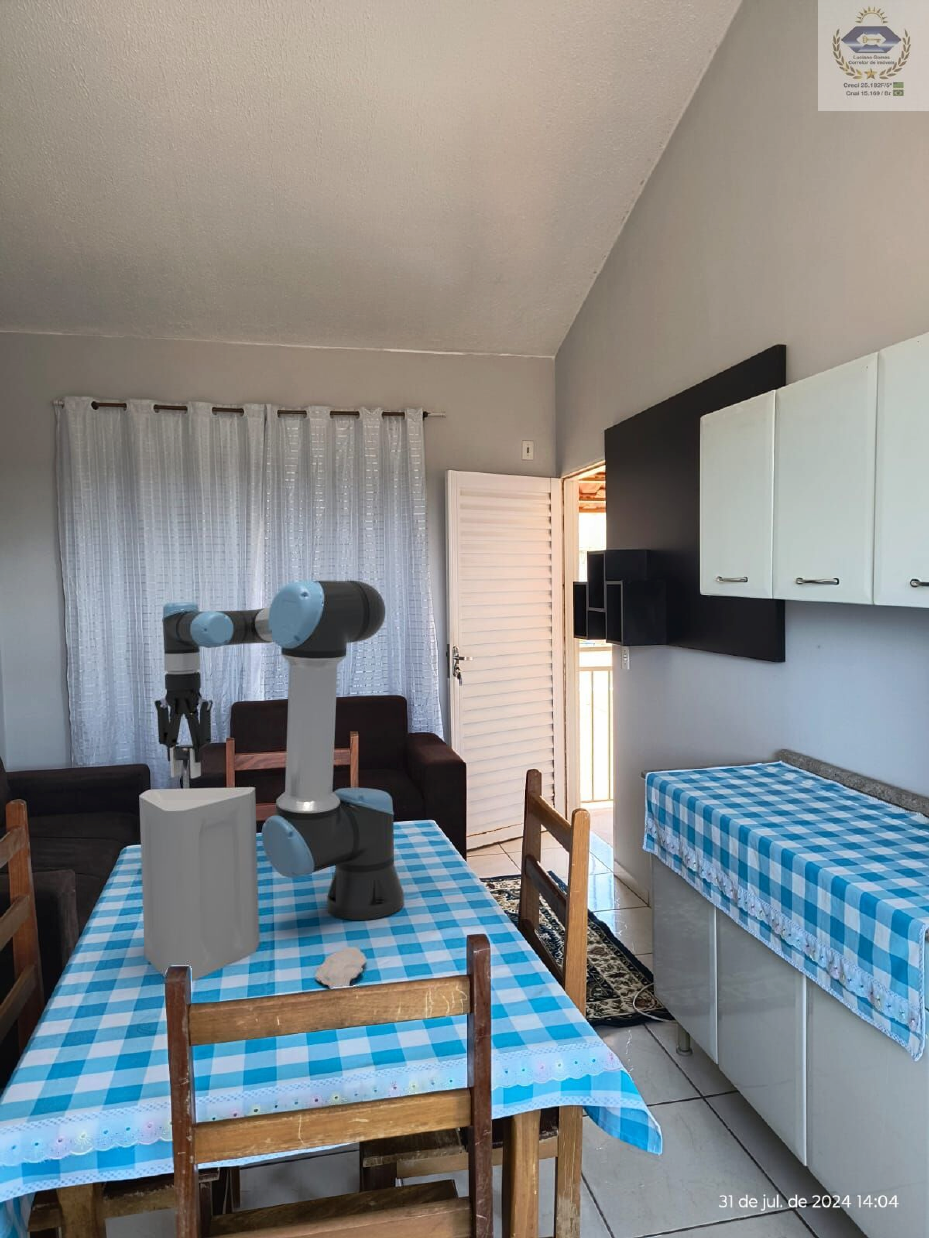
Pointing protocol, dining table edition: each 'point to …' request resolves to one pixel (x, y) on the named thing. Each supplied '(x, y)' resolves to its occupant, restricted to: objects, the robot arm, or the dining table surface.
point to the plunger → (184, 761)
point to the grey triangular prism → (199, 877)
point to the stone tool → (341, 967)
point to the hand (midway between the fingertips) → (185, 776)
